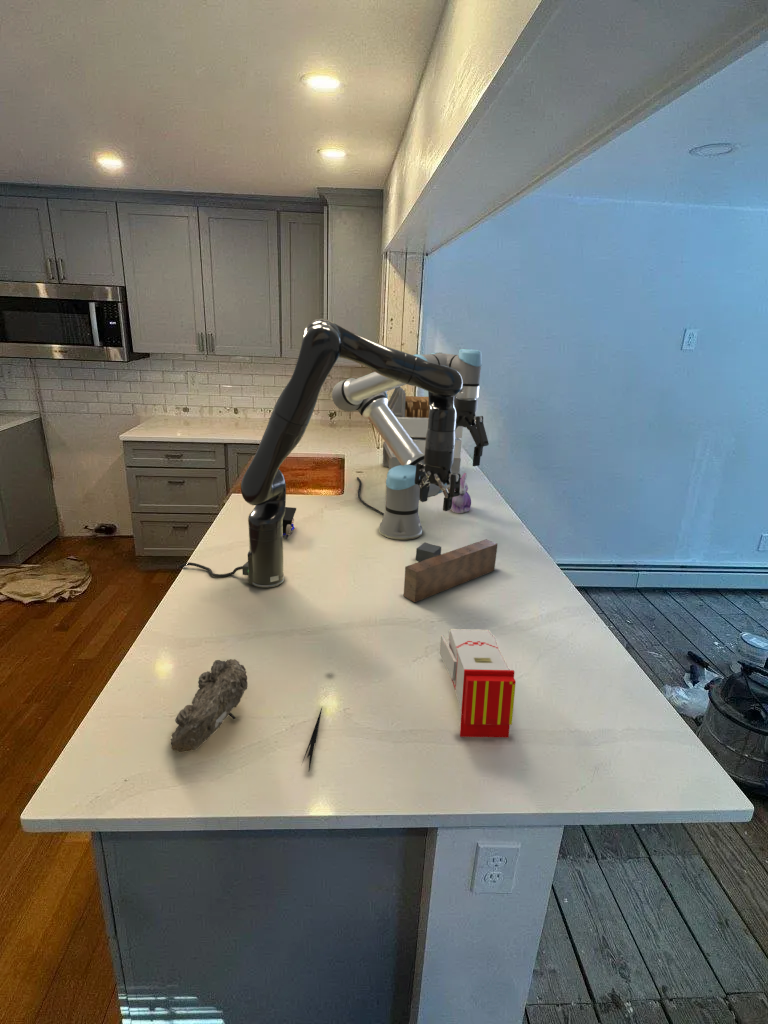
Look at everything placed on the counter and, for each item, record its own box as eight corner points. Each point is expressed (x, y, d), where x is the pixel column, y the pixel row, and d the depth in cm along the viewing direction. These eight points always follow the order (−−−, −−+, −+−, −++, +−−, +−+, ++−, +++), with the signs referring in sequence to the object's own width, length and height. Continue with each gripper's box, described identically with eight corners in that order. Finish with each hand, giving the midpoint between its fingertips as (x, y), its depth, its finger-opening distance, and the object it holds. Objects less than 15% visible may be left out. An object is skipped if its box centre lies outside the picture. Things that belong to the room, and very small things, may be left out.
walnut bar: (414, 602, 154) (416, 572, 151) (403, 596, 157) (405, 566, 154) (494, 570, 175) (497, 543, 172) (483, 565, 178) (486, 539, 175)
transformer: (381, 463, 289) (385, 382, 275) (444, 464, 292) (450, 384, 279) (389, 482, 257) (393, 392, 243) (459, 483, 261) (467, 394, 247)
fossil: (195, 660, 117) (247, 628, 112) (227, 691, 120) (279, 661, 115) (146, 746, 98) (206, 711, 93) (185, 779, 101) (245, 748, 96)
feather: (331, 679, 122) (336, 673, 122) (307, 777, 96) (313, 769, 95) (324, 675, 122) (329, 669, 121) (298, 772, 95) (304, 764, 95)
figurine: (457, 515, 220) (461, 478, 215) (443, 507, 229) (446, 471, 224) (477, 512, 224) (481, 475, 219) (462, 504, 233) (466, 469, 228)
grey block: (415, 560, 180) (416, 548, 178) (423, 553, 185) (424, 542, 183) (432, 564, 177) (433, 552, 176) (440, 558, 182) (441, 546, 181)
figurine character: (292, 545, 190) (297, 524, 203) (291, 525, 186) (296, 505, 200) (271, 544, 189) (278, 523, 203) (270, 524, 186) (277, 504, 199)
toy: (489, 613, 130) (525, 677, 101) (485, 667, 133) (518, 744, 104) (437, 612, 130) (457, 676, 101) (434, 666, 133) (453, 743, 103)
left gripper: (410, 442, 148) (406, 501, 154) (450, 454, 138) (444, 516, 144) (430, 439, 153) (426, 496, 158) (470, 450, 143) (464, 511, 148)
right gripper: (431, 393, 192) (427, 454, 200) (488, 405, 175) (481, 471, 182) (446, 392, 197) (442, 452, 204) (504, 403, 180) (496, 467, 187)
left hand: (434, 505), depth 151 cm, fingers open, 8 cm apart
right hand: (460, 461), depth 193 cm, fingers open, 13 cm apart
